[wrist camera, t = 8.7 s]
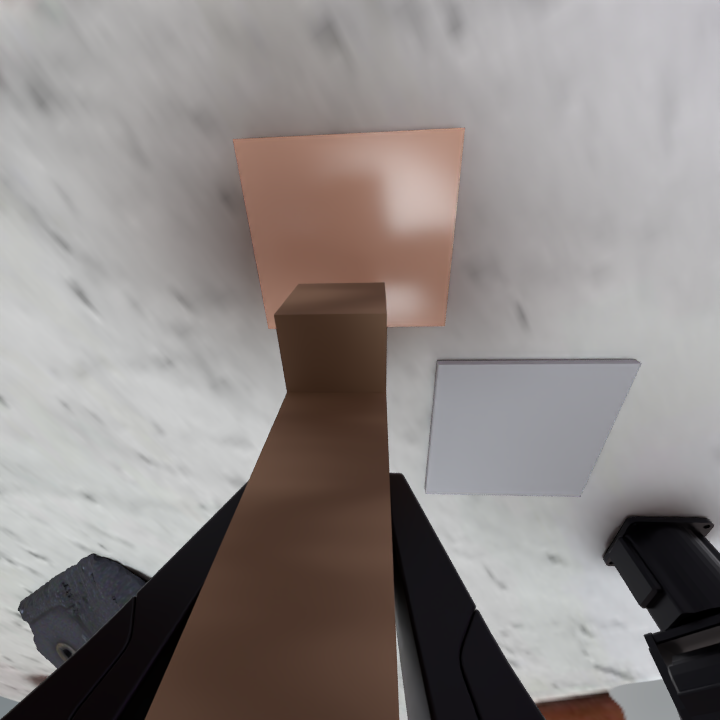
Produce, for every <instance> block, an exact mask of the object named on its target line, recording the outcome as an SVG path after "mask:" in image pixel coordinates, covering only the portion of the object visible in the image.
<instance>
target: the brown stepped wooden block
mask: <svg viewBox="0 0 720 720" xmlns="http://www.w3.org/2000/svg"><path fill="white" fill-rule="evenodd" d="M274 319H275V325H276V331H277V336H278V342H279V348H280V354H281V360H282V365H283V371H284V377H285V383H286V389H287V394H286V396H285V398H284V401H283V403H282V405H281V408H280V410H279V412H278V415H277V417H276V419H275V421H274V424H273V426H272V428H271V431H270V433H269V435H268V438H267V440H266V442H265V444H264V447H263V449H262V451H261V454H260V456H259V458H258V460H257V463H256V465H255V467H254V470H253V472H252V474H251V477H250V479H249V481H248V483H247V486H246V488H245V490H244V493H243V495H242V497H241V500H240V502H239V504H238V506H237V509H236V511H235V513H234V516H233V518H232V520H231V522H230V525H229V527H228V529H227V532H226V534H225V536H224V539H223V541H222V543H221V545H220V548H219V550H218V552H217V555H216V557H215V559H214V562H213V564H212V566H211V568H210V571H209V573H208V575H207V578H206V580H205V582H204V585H203V587H202V589H201V591H200V594H199V596H198V598H197V601H196V603H195V605H194V607H193V610H192V612H191V614H190V617H189V619H188V621H187V624H186V626H185V628H184V630H183V633H182V635H181V637H180V640H179V642H178V644H177V647H176V649H175V651H174V653H173V656H172V658H171V660H170V663H169V665H168V667H167V670H166V672H165V674H164V676H163V679H162V681H161V683H160V686H159V688H158V690H157V692H156V695H155V697H154V699H153V702H152V704H151V706H150V709H149V711H148V713H147V715H146V718H145V720H399V701H398V676H397V651H396V626H395V601H394V576H393V552H392V527H391V502H390V477H389V452H388V427H387V402H386V358H387V306H386V293H385V282H375V283H317V284H298V285H297V286H296V288H295V289H294V290H293V291H292V293H291V294H290V295H289V296H288V298H287V299H286V300H285V301H284V303H283V304H282V305H281V306H280V308H279V309H278V310H277V311H276V313H275V314H274Z"/></svg>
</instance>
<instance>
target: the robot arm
mask: <svg viewBox="0 0 720 720" xmlns="http://www.w3.org/2000/svg"><path fill="white" fill-rule="evenodd" d="M389 477H390V502H391V527H392V552H393V576H394V601H395V623H396V631H397V639H398V646H399V654H400V662H401V670H402V677H403V685H404V693H405V701H406V708H407V716H408V720H546V719H545V718H544V716H543V715H542V713H541V712H540V710H539V709H538V707H537V706H536V704H535V703H534V701H533V700H532V698H531V697H530V695H529V694H528V692H527V691H526V689H525V688H524V686H523V684H522V683H521V681H520V680H519V678H518V677H517V675H516V674H515V672H514V670H513V669H512V667H511V666H510V664H509V663H508V661H507V659H506V658H505V656H504V654H503V652H502V651H501V649H500V647H499V646H498V644H497V642H496V640H495V639H494V637H493V635H492V634H491V632H490V630H489V628H488V627H487V625H486V623H485V621H484V619H483V618H482V616H481V614H480V612H479V611H478V610H477V609H476V605H475V603H474V602H473V600H472V598H471V596H470V594H469V593H468V591H467V589H466V587H465V585H464V584H463V582H462V580H461V578H460V576H459V575H458V573H457V571H456V569H455V567H454V565H453V564H452V562H451V560H450V558H449V556H448V555H447V553H446V551H445V549H444V547H443V546H442V544H441V542H440V540H439V538H438V537H437V535H436V533H435V531H434V529H433V528H432V526H431V524H430V522H429V520H428V518H427V517H426V515H425V513H424V511H423V509H422V508H421V506H420V504H419V502H418V500H417V499H416V497H415V495H414V493H413V491H412V490H411V488H410V486H409V484H408V482H407V481H406V479H405V477H404V475H403V474H402V473H389ZM247 483H248V482H247ZM247 483H246V484H245V485H244V486H243V487H242V488H241V489H240V490H239V491H238V492H237V493H236V494H235V495H234V496H233V497H232V498H231V499H230V500H229V501H228V502H227V503H226V504H225V505H224V506H223V507H222V508H221V509H220V510H219V511H218V512H217V513H216V514H215V515H214V516H213V517H212V518H211V519H210V520H209V521H208V522H207V523H206V524H205V525H204V526H203V527H202V528H201V529H200V530H199V531H198V532H197V533H196V534H195V535H194V536H193V537H192V538H191V539H190V540H189V541H188V542H187V543H186V544H185V545H184V546H183V547H182V548H181V549H180V550H179V551H178V552H177V553H176V554H175V555H174V556H173V557H172V558H171V559H170V560H169V561H168V562H167V563H166V564H165V565H164V566H163V567H162V568H161V569H160V570H159V571H158V572H157V573H156V574H155V575H154V576H153V577H152V578H151V579H150V580H149V581H148V582H147V583H146V584H145V585H144V586H143V587H142V588H141V589H140V590H139V591H138V592H137V594H136V596H133V597H132V598H131V599H130V600H129V601H128V602H127V603H126V604H125V605H124V606H123V607H122V608H121V609H120V610H119V611H118V612H117V613H116V614H115V615H114V616H113V617H112V618H111V619H110V620H109V621H108V622H107V623H106V624H105V625H104V626H103V627H102V628H100V629H99V630H98V631H97V632H96V633H95V634H94V635H93V636H92V637H91V638H90V639H89V640H88V641H87V642H86V643H85V644H84V645H83V646H82V647H81V648H79V649H78V650H77V651H76V652H75V653H74V654H73V655H72V656H71V657H70V658H68V659H67V660H66V661H65V662H64V663H63V664H62V665H61V666H60V667H59V668H58V669H56V670H55V671H54V672H53V673H52V674H51V675H50V676H49V677H48V678H46V679H45V680H44V681H43V682H42V683H41V684H40V685H39V686H37V687H36V688H35V689H34V690H33V691H32V692H31V693H30V694H28V695H27V696H26V697H25V698H24V699H23V700H22V701H21V702H19V703H18V704H17V705H16V706H15V707H14V708H13V709H12V710H11V711H9V712H8V713H7V714H6V715H5V716H4V717H3V718H1V719H0V720H145V718H146V715H147V713H148V711H149V709H150V706H151V704H152V702H153V699H154V697H155V695H156V692H157V690H158V688H159V686H160V683H161V681H162V679H163V676H164V674H165V672H166V670H167V667H168V665H169V663H170V660H171V658H172V656H173V653H174V651H175V649H176V647H177V644H178V642H179V640H180V637H181V635H182V633H183V630H184V628H185V626H186V624H187V621H188V619H189V617H190V614H191V612H192V610H193V607H194V605H195V603H196V601H197V598H198V596H199V594H200V591H201V589H202V587H203V585H204V582H205V580H206V578H207V575H208V573H209V571H210V568H211V566H212V564H213V562H214V559H215V557H216V555H217V552H218V550H219V548H220V545H221V543H222V541H223V539H224V536H225V534H226V532H227V529H228V527H229V525H230V522H231V520H232V518H233V516H234V513H235V511H236V509H237V506H238V504H239V502H240V500H241V497H242V495H243V493H244V490H245V488H246V486H247ZM713 527H714V524H713V523H712V522H711V521H710V520H709V519H706V518H664V517H631V518H628V519H627V520H626V521H625V523H624V524H623V526H622V528H621V529H620V531H619V533H618V535H617V536H616V538H615V540H614V541H613V543H612V545H611V546H610V548H609V550H608V551H607V553H606V555H605V556H604V558H603V560H604V562H605V563H606V565H608V566H615V567H616V569H617V570H618V572H619V573H620V575H621V577H622V578H623V580H624V581H625V583H626V585H627V586H628V588H629V590H630V591H631V593H632V594H633V596H634V598H635V599H636V601H637V602H638V604H639V605H640V606H641V607H642V608H646V609H647V610H648V612H649V613H650V615H651V616H652V618H653V619H654V621H655V623H656V624H657V626H658V627H659V629H660V632H657V633H653V634H652V633H648V634H645V635H644V637H645V639H646V642H647V644H648V646H649V651H650V653H651V655H652V657H653V659H654V662H655V664H656V666H657V668H658V670H659V672H660V674H661V676H662V679H663V681H664V683H665V685H666V687H667V689H668V691H669V693H670V695H671V697H672V700H673V702H674V704H675V706H676V708H677V711H678V714H679V717H680V719H681V720H720V553H719V552H718V551H717V550H716V549H715V547H714V546H713V545H712V544H711V543H710V542H709V541H708V540H707V539H706V538H705V536H706V535H707V534H708V533H709V532H710V530H711V529H712V528H713ZM475 609H476V610H475Z"/></svg>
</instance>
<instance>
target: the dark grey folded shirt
mask: <svg viewBox="0 0 720 720" xmlns="http://www.w3.org/2000/svg"><path fill="white" fill-rule="evenodd" d="M145 584H146V582H145V581H144V580H142V579H140V578H139V577H138V576H136V575H134V574H132V573H131V572H130V571H129V570H127V569H126V568H124V567H123V566H122V565H120V564H119V563H117V562H115V561H111V560H109V559H107V558H104V557H99V556H97V555H95V554H91V555H89V556H88V557H85V558H83V559H81V560H80V561H79V562H78V564H77V565H74V566H71V567H70V568H68V569H66V571H64V572H62V573H60V574H59V575H57V576H55V577H54V578H52V579H51V580H50V581H49V582H47V583H46V584H45V585H43V586H41V587H40V588H39V589H38V590H36V591H35V592H34V593H33V594H31V595H30V596H28V597H26V598H25V599H24V600H22V601H21V602H20V605H19V608H18V611H20V613H21V616H22V619H23V620H24V621H27V622H28V624H29V625H30V628H31V630H32V632H33V634H34V642H35V644H36V647H37V650H38V651H39V652H40V653H41V654H42V655H43V656H44V657H45V658H46V659H48V660H49V661H50V662H51V663H52V664H53V665H54V666H55V667H56V668H57V669H58V668H59V667H60V666H61V665H62V664H63V663H64V662H65V661H66V660H67V659H68V658H70V657H71V656H72V655H73V654H74V653H75V652H76V651H77V650H78V649H79V648H81V647H82V646H83V645H84V644H85V643H86V642H87V641H88V640H89V639H90V638H91V637H92V636H93V635H94V634H95V633H96V632H97V631H98V630H99V629H100V628H102V627H103V626H104V625H105V624H106V623H107V622H108V621H109V620H110V619H111V618H112V617H113V616H114V615H115V614H116V613H117V612H118V611H119V610H120V609H121V608H122V607H123V606H124V605H125V604H126V603H127V602H128V601H129V600H130V599H131V598H132V597H133V596H136V594H137V592H138V591H139V590H140V589H141V588H142V587H143V586H144V585H145Z"/></svg>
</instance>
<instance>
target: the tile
mask: <svg viewBox="0 0 720 720" xmlns="http://www.w3.org/2000/svg"><path fill="white" fill-rule="evenodd" d="M464 131H465V128H449V129H429V130H409V131H389V132H369V133H348V134H328V135H308V136H288V137H268V138H248V139H233V143H234V148H235V153H236V159H237V164H238V169H239V175H240V180H241V185H242V191H243V196H244V201H245V206H246V212H247V217H248V222H249V228H250V233H251V238H252V244H253V249H254V254H255V259H256V265H257V270H258V275H259V281H260V286H261V291H262V296H263V302H264V307H265V312H266V318H267V323H268V328H269V329H276V325H275V319H274V314H275V313H276V311H277V310H278V309H279V308H280V306H281V305H282V304H283V303H284V301H285V300H286V299H287V298H288V296H289V295H290V294H291V293H292V291H293V290H294V289H295V288H296V286H297V285H298V284H317V283H375V282H385V293H386V306H387V327H420V326H445V319H446V309H447V299H448V289H449V280H450V270H451V260H452V250H453V240H454V230H455V220H456V210H457V200H458V191H459V181H460V171H461V161H462V151H463V141H464Z"/></svg>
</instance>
